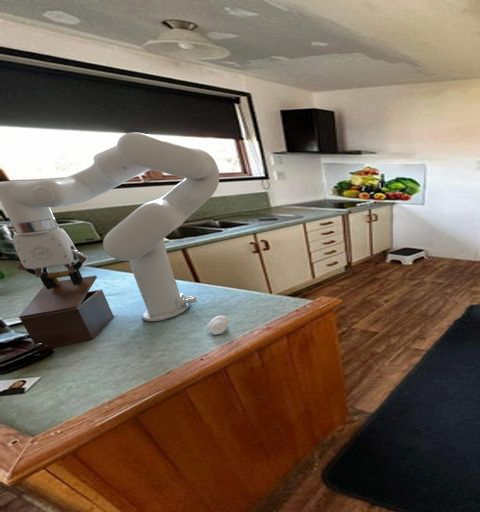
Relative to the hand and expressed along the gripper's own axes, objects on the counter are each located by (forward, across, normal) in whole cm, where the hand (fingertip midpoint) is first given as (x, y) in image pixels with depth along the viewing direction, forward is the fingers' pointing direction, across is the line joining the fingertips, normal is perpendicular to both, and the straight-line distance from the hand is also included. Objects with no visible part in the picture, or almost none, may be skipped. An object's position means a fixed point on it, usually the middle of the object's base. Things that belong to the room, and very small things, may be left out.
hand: (65, 284), depth 81 cm
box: (+15, 0, -3) cm, 15 cm away
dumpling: (+15, +40, -23) cm, 48 cm away
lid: (+2, 0, -3) cm, 4 cm away
